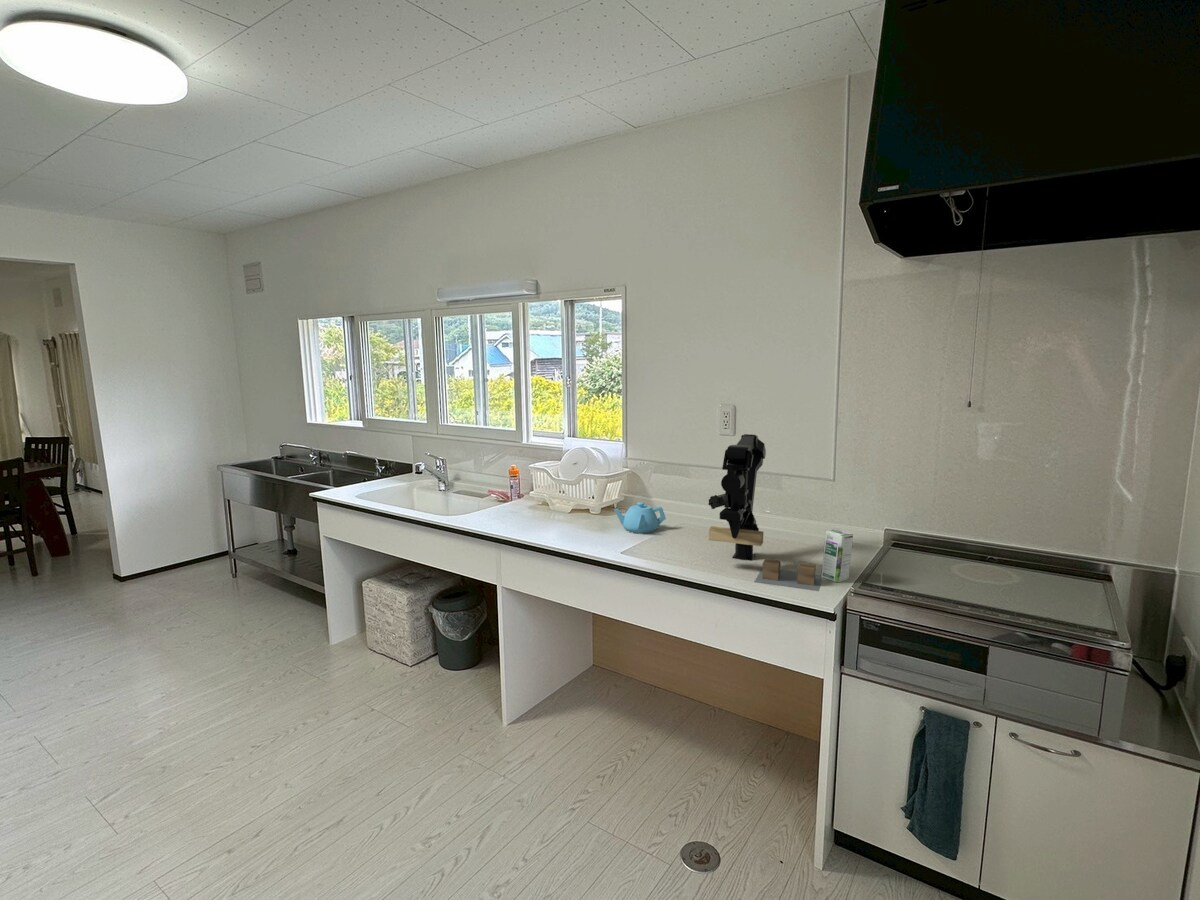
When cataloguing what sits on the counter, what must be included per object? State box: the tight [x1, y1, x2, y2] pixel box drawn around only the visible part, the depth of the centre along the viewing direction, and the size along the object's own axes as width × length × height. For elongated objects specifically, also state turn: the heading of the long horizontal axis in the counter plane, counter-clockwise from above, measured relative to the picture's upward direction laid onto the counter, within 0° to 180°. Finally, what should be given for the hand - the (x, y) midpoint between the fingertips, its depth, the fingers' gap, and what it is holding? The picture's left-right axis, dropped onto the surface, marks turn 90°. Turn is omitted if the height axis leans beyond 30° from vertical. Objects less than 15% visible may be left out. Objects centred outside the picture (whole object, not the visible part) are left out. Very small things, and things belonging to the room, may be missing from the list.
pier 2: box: [797, 562, 817, 586], centre depth 179 cm, size 4×4×5 cm
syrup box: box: [821, 528, 854, 583], centre depth 182 cm, size 6×6×14 cm
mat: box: [754, 567, 823, 592], centre depth 183 cm, size 14×18×1 cm
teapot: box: [613, 501, 667, 534], centre depth 238 cm, size 15×15×11 cm
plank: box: [708, 525, 764, 547], centre depth 189 cm, size 4×16×4 cm, turn 66°
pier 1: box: [762, 558, 782, 581], centre depth 183 cm, size 4×4×5 cm
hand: (736, 536), depth 189 cm, fingers closed on plank, 4 cm apart
